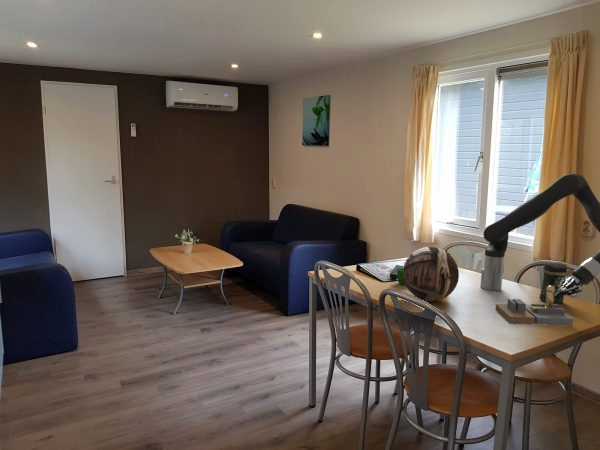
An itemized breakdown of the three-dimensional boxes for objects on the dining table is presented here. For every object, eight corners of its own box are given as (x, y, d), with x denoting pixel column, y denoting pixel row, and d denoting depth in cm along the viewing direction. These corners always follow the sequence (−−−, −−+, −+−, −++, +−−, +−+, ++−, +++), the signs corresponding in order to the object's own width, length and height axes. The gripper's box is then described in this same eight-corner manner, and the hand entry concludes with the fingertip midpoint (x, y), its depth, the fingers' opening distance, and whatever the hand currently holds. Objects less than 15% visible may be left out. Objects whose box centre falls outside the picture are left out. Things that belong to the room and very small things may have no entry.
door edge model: (553, 312, 205) (554, 296, 203) (572, 325, 189) (574, 309, 188) (495, 310, 206) (496, 294, 205) (509, 323, 190) (510, 307, 189)
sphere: (460, 311, 204) (464, 255, 199) (401, 306, 209) (404, 251, 204) (453, 293, 228) (457, 243, 224) (401, 289, 233) (403, 240, 228)
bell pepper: (393, 282, 244) (394, 264, 243) (406, 281, 248) (407, 262, 246) (403, 287, 237) (404, 268, 235) (416, 285, 240) (417, 266, 239)
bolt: (551, 309, 198) (554, 284, 196) (555, 312, 195) (558, 287, 193) (529, 309, 198) (532, 283, 197) (533, 311, 195) (536, 286, 193)
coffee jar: (547, 304, 214) (551, 265, 211) (536, 299, 222) (540, 261, 219) (566, 303, 216) (571, 265, 213) (555, 298, 224) (559, 260, 220)
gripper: (573, 260, 199) (541, 287, 202) (591, 268, 186) (556, 297, 189) (585, 273, 200) (552, 299, 202) (603, 282, 187) (568, 310, 189)
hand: (554, 298), depth 196 cm, fingers closed
